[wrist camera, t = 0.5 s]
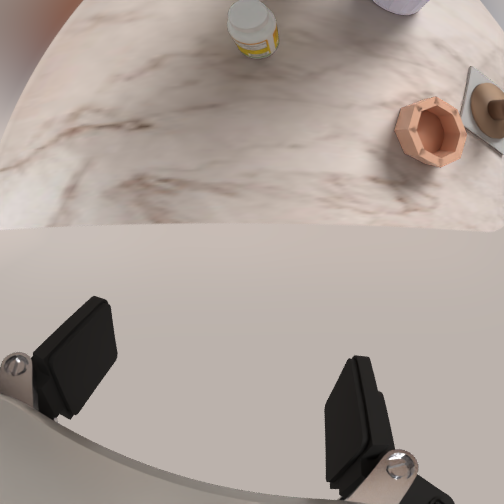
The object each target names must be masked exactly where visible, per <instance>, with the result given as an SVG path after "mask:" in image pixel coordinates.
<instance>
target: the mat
mask: <svg viewBox="0 0 504 504" xmlns="http://www.w3.org/2000/svg"><path fill="white" fill-rule="evenodd" d="M482 83H492V84H494V85H496V86H497V87H499V86H498V85H497V84H495V83H494V82H493V81H491V80H490V79H489V78H488V77H486V76H485V75H484V74H482V73H481V72H480V71H478V70H477V69H475V68H474V67H473V66H470V68H469V74H468V80H467V85H466V90H465V95H464V100H463V105H462V109H461V113H460V117H461V120H462V122H463V125H464V127H465V128H466V129H468V130H469V131H471V132H472V133H474V134H475V135H477V136H478V137H480V138H481V139H482V140H484V141H485V142H486V143H488V144H489V145H491V146H492V147H493V148H495V149H496V150H497V151H498V152H500V153H501V154H502V155H504V138H501V139H496V138H490V137H488V136H487V135H485V134H484V133H483V132H482V131H481V130H480V129H479V127H478V126H477V124H476V122H475V120H474V118H473V115H472V111H471V104H470V100H471V94H472V91H473V89H474V88H475V87H476V86H477V85H479V84H482ZM499 88H500V87H499ZM500 89H501V88H500ZM501 90H502V91H503V92H504V90H503V89H501Z"/></svg>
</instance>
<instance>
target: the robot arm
mask: <svg viewBox="0 0 504 504" xmlns="http://www.w3.org/2000/svg"><path fill="white" fill-rule="evenodd" d="M116 359H117V347H116V342H115V335H114V328H113V321H112V313H111V306H110V305H109V304H108V302H107V300H105V299H102V298H99V297H96V296H93V297H91V298H90V299H89V300H88V301H87V302H86V303H85V304H84V305H83V306H82V307H80V308H79V309H78V310H77V311H76V312H75V313H74V314H73V315H72V316H70V317H69V318H68V319H67V320H66V321H65V322H64V323H63V324H62V325H61V326H60V327H59V328H58V329H57V330H56V331H55V332H54V333H53V334H52V335H51V336H49V337H48V338H47V339H46V340H45V341H44V342H43V343H42V344H41V345H40V346H39V347H38V348H37V349H36V350H35V351H34V352H33V357H32V358H30V357H29V356H28V355H27V354H25V353H22V352H16V353H12V354H10V355H8V356H7V357H5V358H4V360H3V361H2V364H1V367H0V504H454V501H453V500H452V498H451V497H450V496H449V495H447V494H446V493H444V492H442V491H441V490H440V489H438V488H437V487H435V486H434V485H432V484H431V483H429V482H428V481H426V480H425V479H423V478H422V477H421V476H419V475H418V474H417V473H418V462H417V460H416V458H415V457H414V456H413V455H412V454H411V453H410V452H408V451H405V450H401V449H395V447H394V441H393V436H392V432H391V427H390V422H389V418H388V413H387V409H386V405H385V400H384V397H383V394H382V393H381V392H379V391H378V390H377V385H376V381H375V377H374V373H373V369H372V365H371V361H370V358H369V357H365V356H354V357H353V358H352V359H350V358H349V359H348V360H347V362H346V364H345V366H344V368H343V370H342V372H341V374H340V376H339V379H338V381H337V382H336V384H335V387H334V389H333V390H332V392H331V394H330V396H329V398H328V400H327V402H326V404H325V411H324V412H325V441H326V442H325V444H326V481H327V482H330V489H339V495H341V497H340V498H339V499H338V500H326V499H310V498H297V497H287V496H278V495H270V494H262V493H255V492H249V491H243V490H238V489H232V488H228V487H223V486H218V485H214V484H210V483H205V482H201V481H198V480H194V479H190V478H186V477H183V476H180V475H176V474H173V473H170V472H167V471H164V470H161V469H157V468H155V467H152V466H149V465H146V464H144V463H141V462H139V461H136V460H133V459H131V458H128V457H126V456H124V455H121V454H119V453H117V452H114V451H112V450H110V449H107V448H105V447H103V446H101V445H99V444H97V443H95V442H92V441H90V440H89V439H87V438H84V437H83V436H81V435H79V434H77V433H75V432H73V431H71V430H69V429H68V428H66V427H64V426H62V425H60V424H59V423H58V421H57V417H58V415H59V414H61V415H63V416H65V417H66V418H68V419H71V418H72V417H73V415H77V414H78V413H79V412H80V410H81V409H82V407H83V406H84V404H85V403H86V402H87V400H88V399H89V397H90V396H91V394H92V393H93V392H94V390H95V389H96V387H97V386H98V384H99V383H100V382H101V380H102V379H103V377H104V376H105V375H106V373H107V372H108V371H109V369H110V368H111V367H112V365H113V364H114V362H115V361H116Z"/></svg>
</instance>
